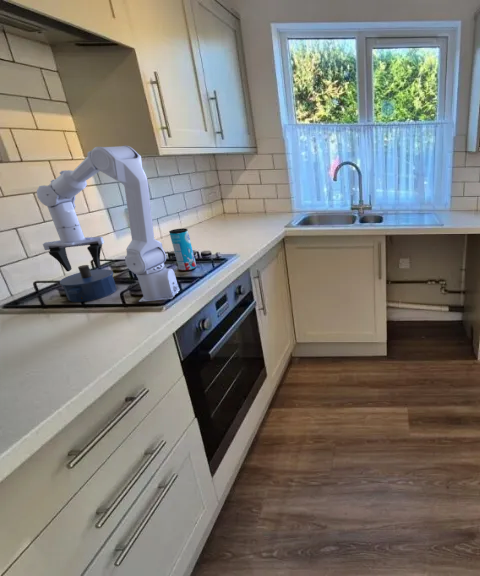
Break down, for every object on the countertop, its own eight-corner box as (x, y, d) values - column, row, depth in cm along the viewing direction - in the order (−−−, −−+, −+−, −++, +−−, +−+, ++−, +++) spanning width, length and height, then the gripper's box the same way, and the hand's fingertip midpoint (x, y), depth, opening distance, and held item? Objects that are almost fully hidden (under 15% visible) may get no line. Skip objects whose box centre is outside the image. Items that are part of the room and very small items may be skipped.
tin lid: (124, 273, 120) (119, 259, 118) (87, 289, 108) (82, 274, 106) (88, 271, 122) (84, 258, 120) (48, 287, 110) (43, 273, 108)
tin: (127, 281, 126) (122, 267, 124) (100, 303, 110) (94, 287, 108) (86, 285, 124) (81, 270, 122) (53, 307, 108) (46, 291, 105)
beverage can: (195, 270, 134) (185, 231, 128) (177, 272, 133) (167, 233, 127) (198, 265, 140) (188, 227, 134) (181, 267, 138) (171, 229, 132)
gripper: (31, 231, 102) (50, 276, 108) (92, 226, 107) (107, 269, 112) (42, 226, 108) (59, 268, 114) (99, 221, 113) (113, 262, 118)
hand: (83, 268), depth 113 cm, fingers open, 7 cm apart
